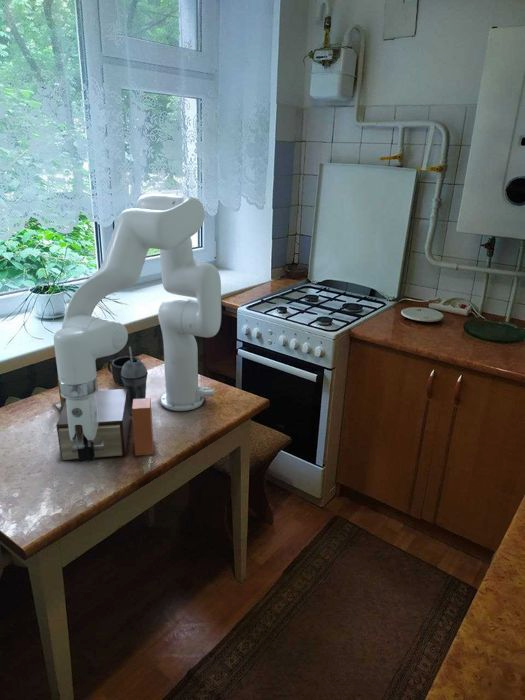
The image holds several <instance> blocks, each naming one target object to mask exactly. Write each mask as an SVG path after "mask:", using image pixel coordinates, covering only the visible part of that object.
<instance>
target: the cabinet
mask: <svg viewBox="0 0 525 700" xmlns="http://www.w3.org/2000/svg"><path fill="white" fill-rule="evenodd" d="M95 395H96V401H97V408H98V415H99V423H98V425H112V424H120V431H121V442H122V455H119V456H118V457H123V456H126V454H127V453H126V452H127V447H128V439H129V438H128V437H129V431H130V430H129V429H130V423H131V419H130V417H131V416H130V413H129V404H128V392H127V389H124V388H121V389H120V388H118V389H117V388H116V389H102V390H101V389H98V392H97V393H96V394H95ZM66 407H67V405H66V401H65V404H64V406H63V409H62V411H60V414H59V417H58V419H57V422H56V425H55V426H56V432H57V433H56V434H57V439H58V446H59V454H60V460H61V461H69V460H70V461H71V460H73V459H64V460H63V459H62V452H61V445H60V438H59V428H65V427H68V418H67V408H66ZM111 457H112V458H113V456H105V457H104V458H111ZM96 458H100V457H94V459H96ZM77 460H79V458H78V459H77Z"/></svg>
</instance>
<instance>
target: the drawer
mask: <svg viewBox="0 0 525 700" xmlns="http://www.w3.org/2000/svg"><path fill="white" fill-rule="evenodd" d="M59 438H60V445H61V452H62V459H63V460H62V461H65V460H64V459H72V460H79V459H78V449H77V441H76V437H75V440H74V442H73V441H71V439H70V435H69V427H65V428H59ZM91 442H93V444H94V453H95V457H99V458H106V457H105V456H112V457H120V456H119V455H122V442H121V431H120V424H112V425H98V428H97V432H96V436H95V438H94V440H92V441H91Z"/></svg>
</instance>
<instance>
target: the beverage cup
mask: <svg viewBox="0 0 525 700" xmlns="http://www.w3.org/2000/svg"><path fill="white" fill-rule="evenodd" d="M128 350H129V352H128V353H129V356H130V358H131V360H129V361H127V362H126V363H125V364H124V365H123V367H122V370H121V377H122V381H123V383H124V385H123V389H127V392H128V404H129V414H132V405H133V399H143V398H147V397H146V396H147V379H148V369H147V366H146V364H145V363H144V362H142V360H141V361H139V360H136V359H133V358H132V357H133V352H132V346H129V347H128Z"/></svg>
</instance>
